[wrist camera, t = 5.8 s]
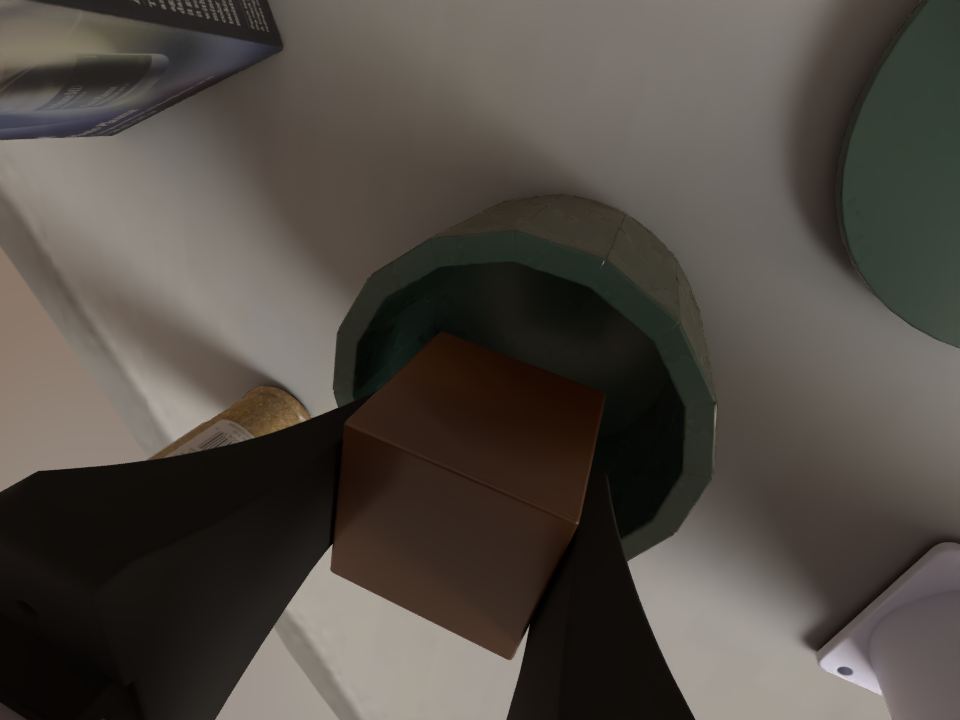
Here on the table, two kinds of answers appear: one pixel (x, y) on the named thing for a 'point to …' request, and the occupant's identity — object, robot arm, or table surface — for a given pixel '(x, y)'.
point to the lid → (908, 174)
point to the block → (465, 488)
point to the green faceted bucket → (562, 337)
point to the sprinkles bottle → (241, 422)
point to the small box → (119, 59)
